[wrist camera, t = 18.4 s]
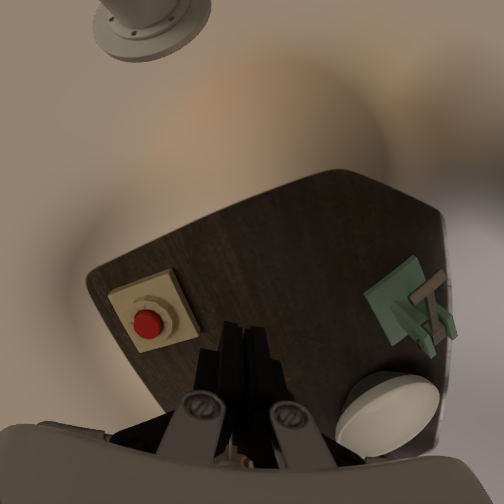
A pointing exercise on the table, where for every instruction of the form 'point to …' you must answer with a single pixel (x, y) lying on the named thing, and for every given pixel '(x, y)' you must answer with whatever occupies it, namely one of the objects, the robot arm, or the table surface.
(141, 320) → the button
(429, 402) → the bowl
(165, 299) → the block
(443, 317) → the green lever stand
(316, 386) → the table surface
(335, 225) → the table surface
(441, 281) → the lever handle
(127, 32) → the robot arm
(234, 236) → the table surface
